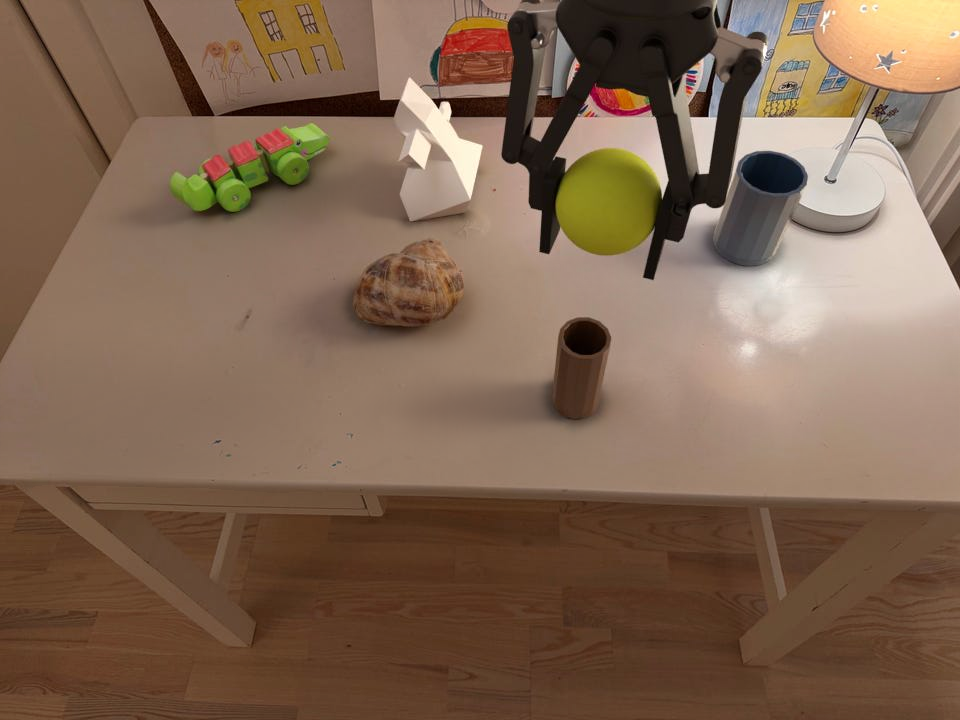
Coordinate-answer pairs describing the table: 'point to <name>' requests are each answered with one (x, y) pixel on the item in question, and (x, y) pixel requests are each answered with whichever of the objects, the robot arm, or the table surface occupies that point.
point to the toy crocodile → (250, 168)
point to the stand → (580, 366)
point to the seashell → (409, 286)
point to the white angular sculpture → (433, 158)
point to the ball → (608, 201)
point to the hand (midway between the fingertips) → (600, 252)
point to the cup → (759, 207)
